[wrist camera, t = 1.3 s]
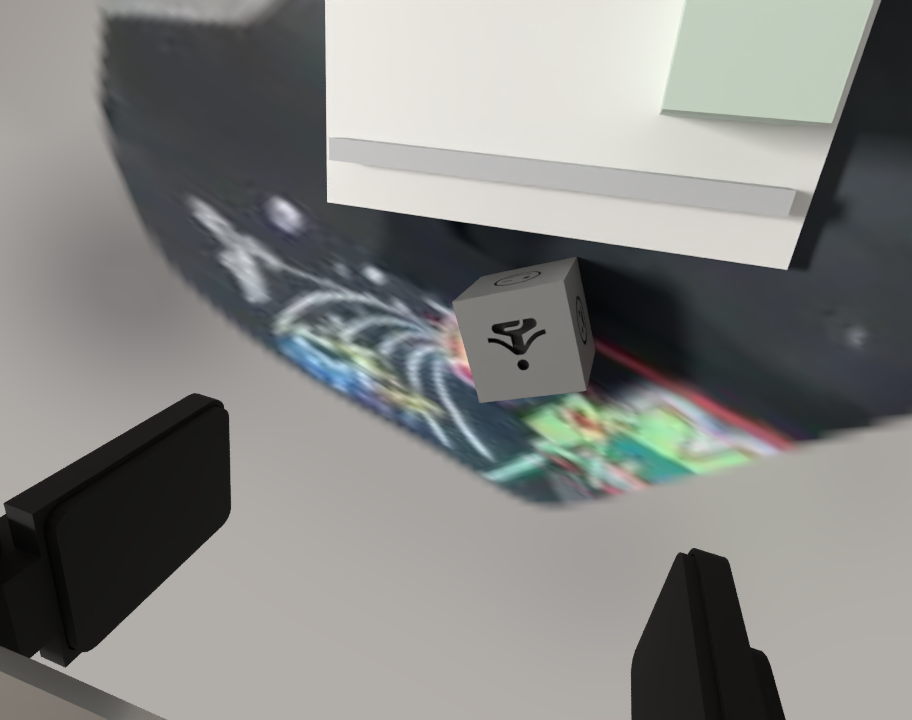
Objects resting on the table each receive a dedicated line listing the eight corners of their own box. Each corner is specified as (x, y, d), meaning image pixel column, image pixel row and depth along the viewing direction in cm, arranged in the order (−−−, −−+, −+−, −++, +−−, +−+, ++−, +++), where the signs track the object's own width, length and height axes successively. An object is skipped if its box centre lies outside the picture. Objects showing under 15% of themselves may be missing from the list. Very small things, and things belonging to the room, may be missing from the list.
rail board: (949, -227, 17) (1084, -387, 12) (781, 264, 24) (820, 301, 18) (335, -192, 23) (241, -291, 17) (336, 199, 29) (269, 214, 24)
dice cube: (577, 256, 26) (563, 280, 22) (595, 350, 28) (586, 390, 24) (482, 276, 28) (452, 302, 24) (504, 363, 30) (479, 402, 25)
